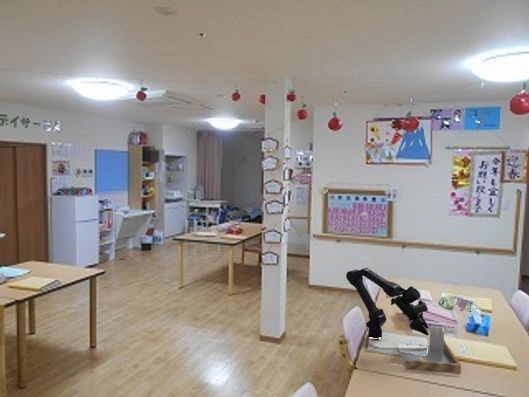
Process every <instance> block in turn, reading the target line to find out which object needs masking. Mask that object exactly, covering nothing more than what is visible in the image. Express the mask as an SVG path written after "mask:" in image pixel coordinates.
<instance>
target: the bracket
mask: <svg viewBox="0 0 529 397" xmlns="http://www.w3.org/2000/svg"><path fill="white" fill-rule="evenodd" d="M444 337H445V328H444V326H436V325H430V327H429V344H428V346H429V351H431V352H437V353H441V357H443V343H444V341H445V338H444Z"/></svg>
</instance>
